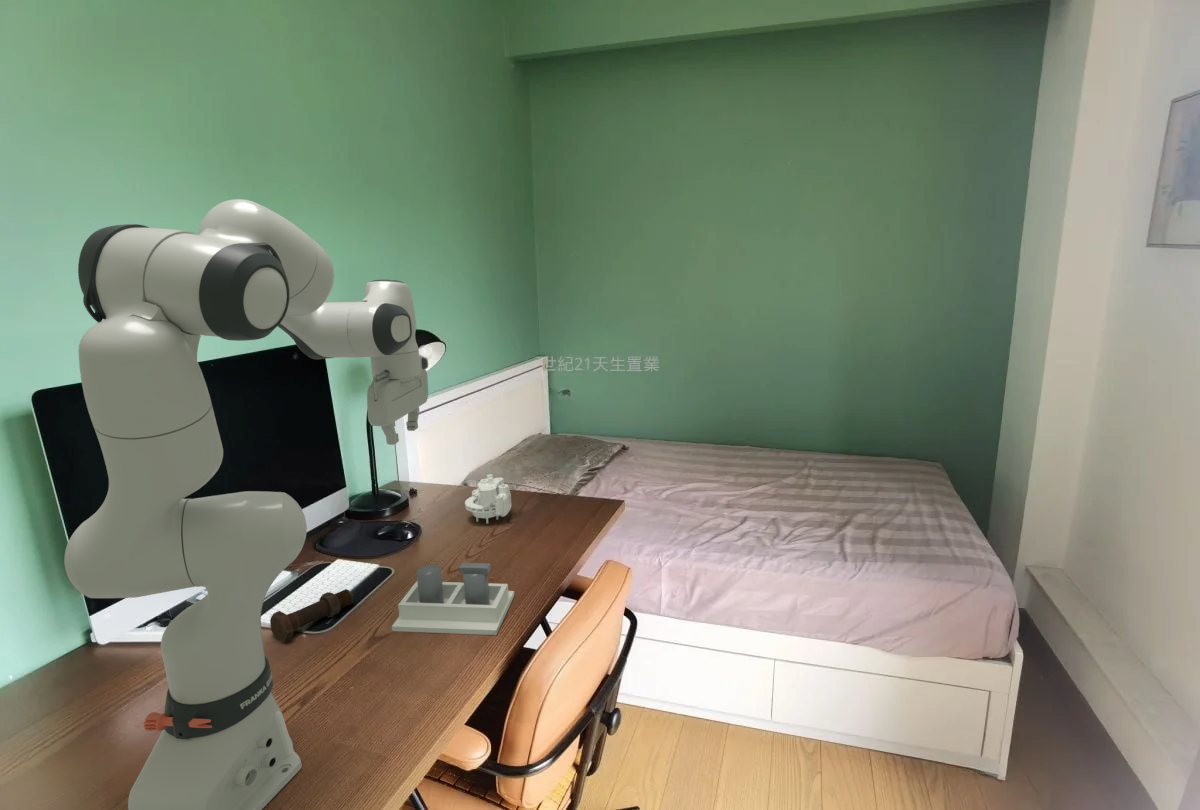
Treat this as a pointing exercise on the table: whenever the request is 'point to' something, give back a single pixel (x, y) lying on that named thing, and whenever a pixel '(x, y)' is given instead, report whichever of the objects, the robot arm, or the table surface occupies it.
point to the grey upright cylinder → (430, 584)
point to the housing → (458, 606)
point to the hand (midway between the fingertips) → (403, 436)
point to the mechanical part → (490, 499)
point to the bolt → (308, 614)
